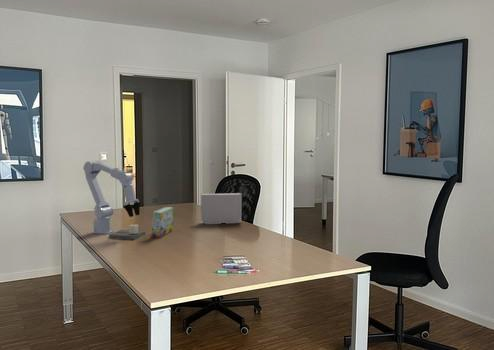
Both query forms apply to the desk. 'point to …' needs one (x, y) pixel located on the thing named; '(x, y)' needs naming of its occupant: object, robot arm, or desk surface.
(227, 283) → the desk surface
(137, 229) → the fader cap
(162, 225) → the snack box
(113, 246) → the desk surface
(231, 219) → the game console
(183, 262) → the desk surface
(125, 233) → the console panel
